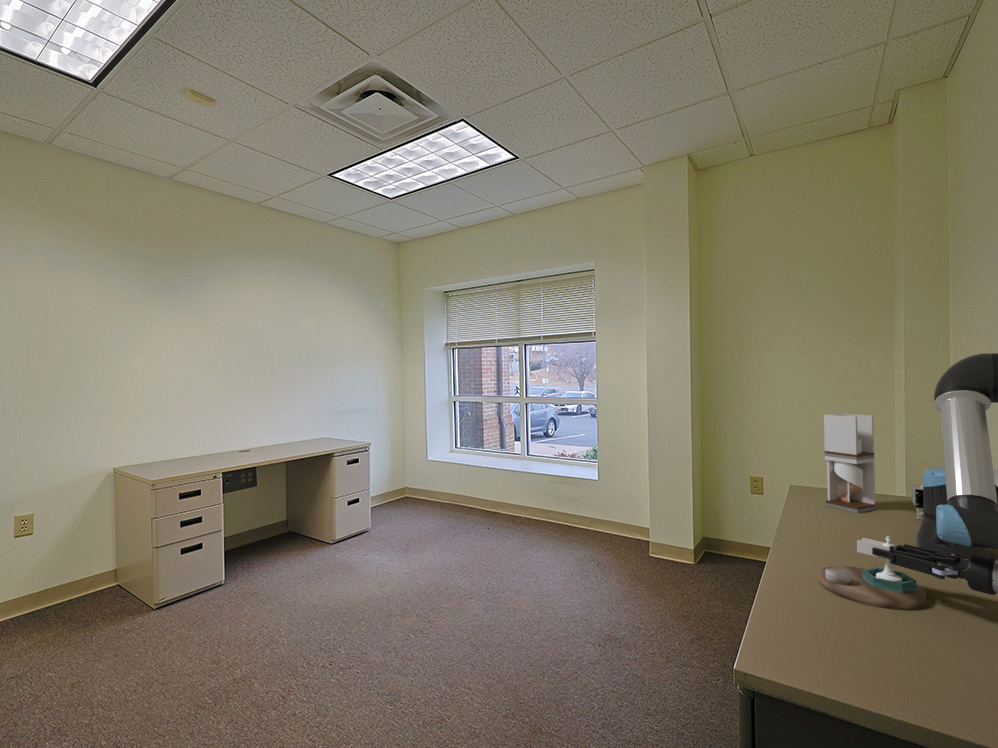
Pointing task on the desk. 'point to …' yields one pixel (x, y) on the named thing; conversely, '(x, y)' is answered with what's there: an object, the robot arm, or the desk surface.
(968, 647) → the desk surface
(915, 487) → the pneumatic valve
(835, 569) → the carrier
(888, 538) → the chess piece
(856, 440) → the spiral staircase model
